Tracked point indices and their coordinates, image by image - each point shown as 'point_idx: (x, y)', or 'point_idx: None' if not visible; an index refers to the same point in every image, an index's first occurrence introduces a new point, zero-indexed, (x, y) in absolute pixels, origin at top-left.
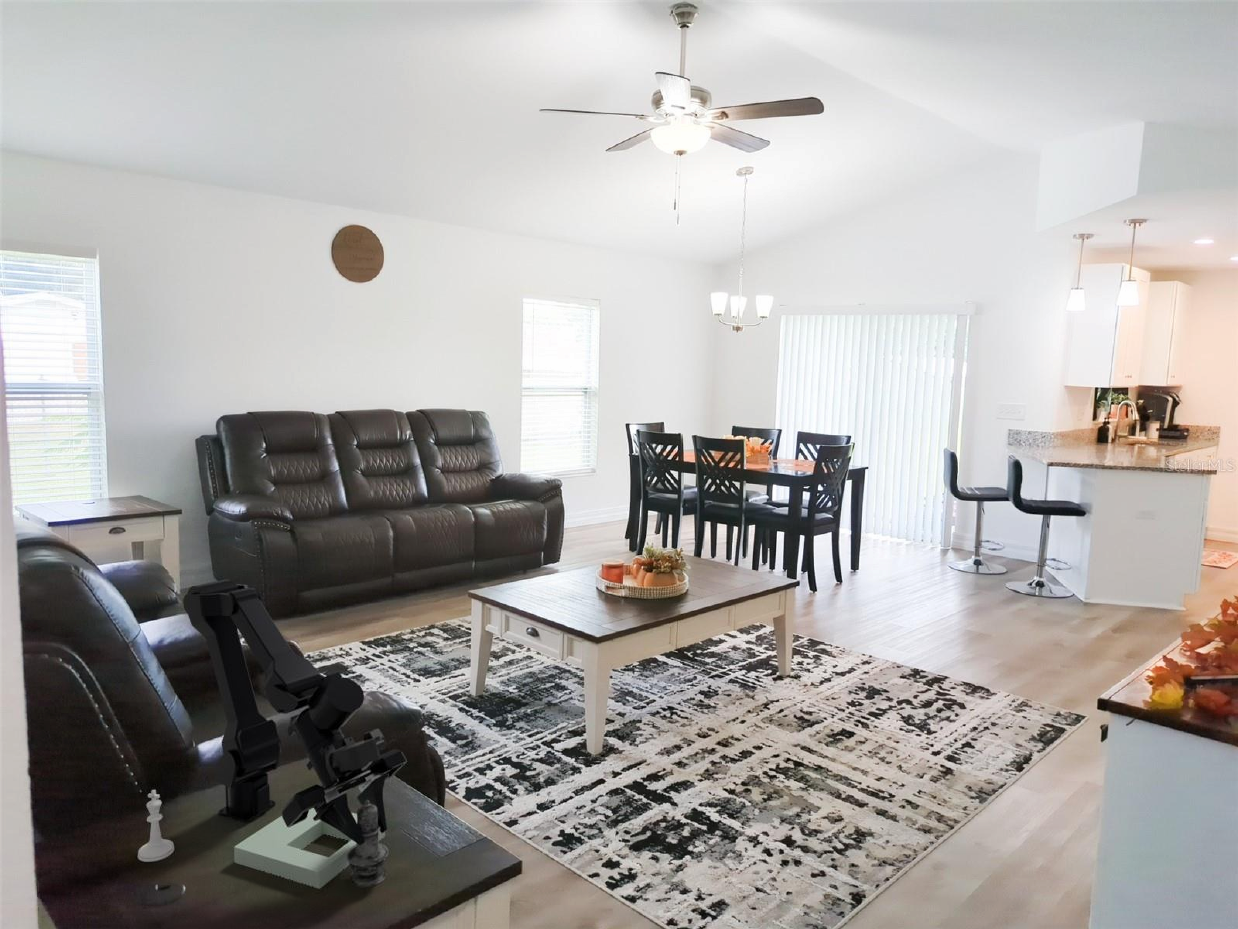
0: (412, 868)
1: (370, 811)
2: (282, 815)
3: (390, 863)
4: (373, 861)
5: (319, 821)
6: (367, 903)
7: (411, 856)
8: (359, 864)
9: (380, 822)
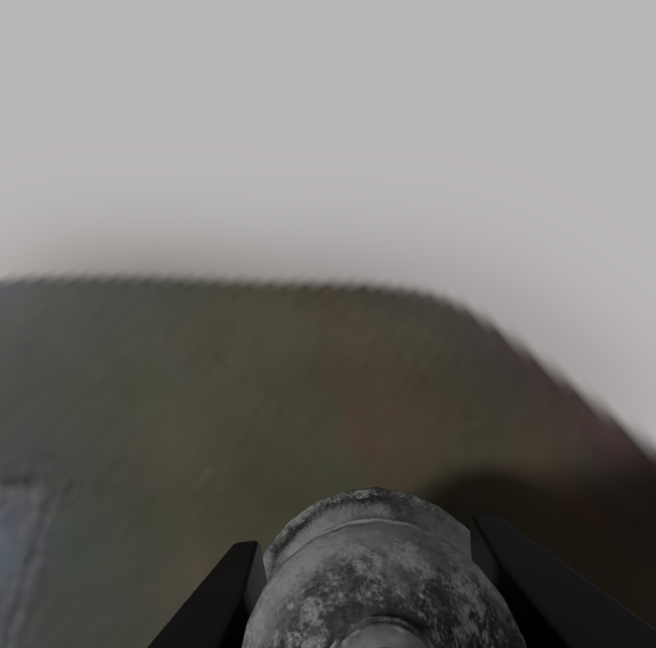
0: (189, 509)
1: (399, 538)
2: None
3: None
4: (399, 508)
5: None
6: (478, 431)
7: (118, 608)
8: None
9: (249, 606)
